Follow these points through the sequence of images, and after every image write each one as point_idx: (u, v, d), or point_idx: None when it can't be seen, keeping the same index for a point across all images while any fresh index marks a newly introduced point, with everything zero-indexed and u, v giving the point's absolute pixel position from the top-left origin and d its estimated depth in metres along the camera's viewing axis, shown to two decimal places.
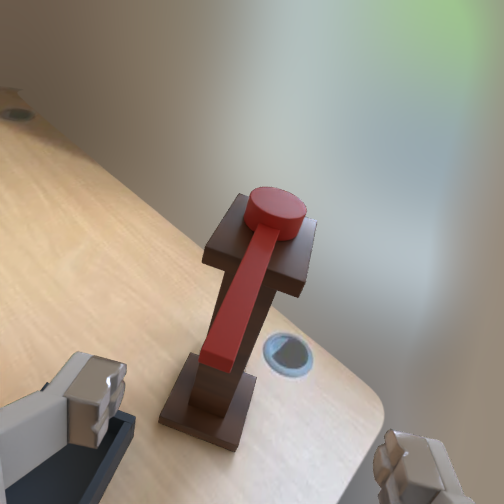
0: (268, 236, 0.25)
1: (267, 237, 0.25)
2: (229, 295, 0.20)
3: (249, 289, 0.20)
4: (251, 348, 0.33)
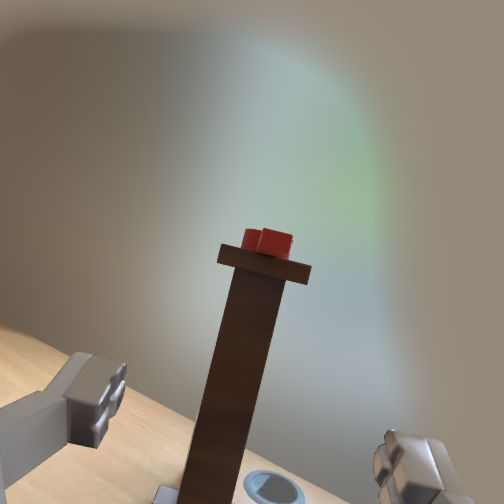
0: None
1: None
2: None
3: None
4: (254, 400, 0.30)
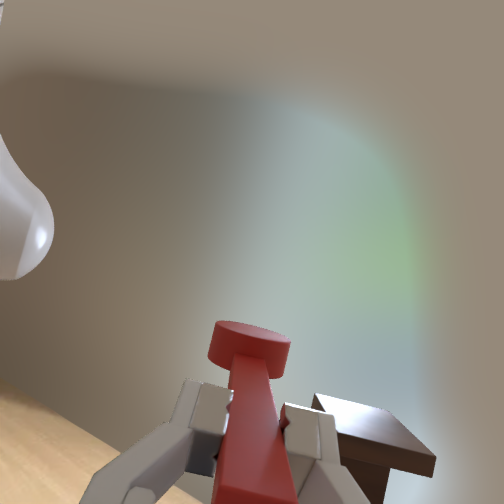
0: (254, 363, 0.18)
1: (253, 363, 0.17)
2: (233, 411, 0.11)
3: (261, 406, 0.12)
4: None
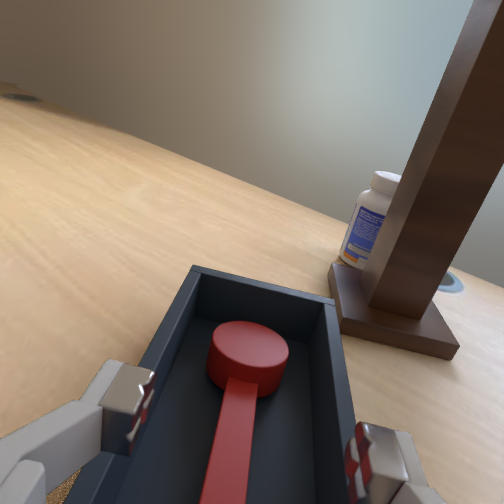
0: (244, 398, 0.18)
1: (243, 400, 0.17)
2: None
3: None
4: (500, 164, 0.24)
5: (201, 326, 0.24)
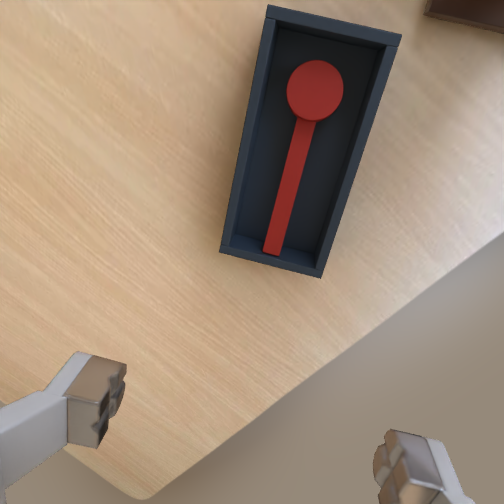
0: (304, 136, 0.30)
1: (303, 138, 0.30)
2: (275, 211, 0.32)
3: (287, 203, 0.32)
4: None
5: (286, 42, 0.30)
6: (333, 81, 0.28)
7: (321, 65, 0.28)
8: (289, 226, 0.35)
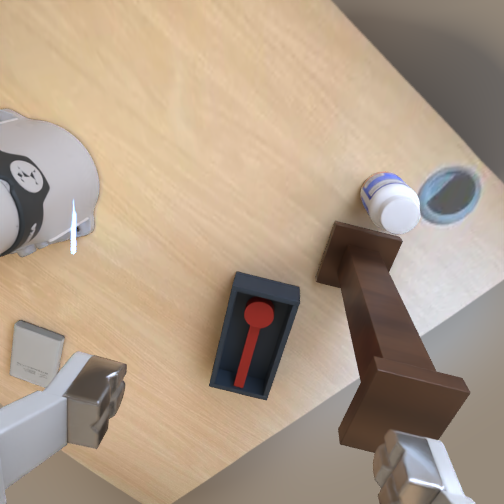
0: (255, 331, 0.56)
1: (254, 332, 0.56)
2: (240, 366, 0.58)
3: (246, 362, 0.57)
4: None
5: None
6: (268, 311, 0.53)
7: (262, 304, 0.53)
8: (249, 366, 0.61)
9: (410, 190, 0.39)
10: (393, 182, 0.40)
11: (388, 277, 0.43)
